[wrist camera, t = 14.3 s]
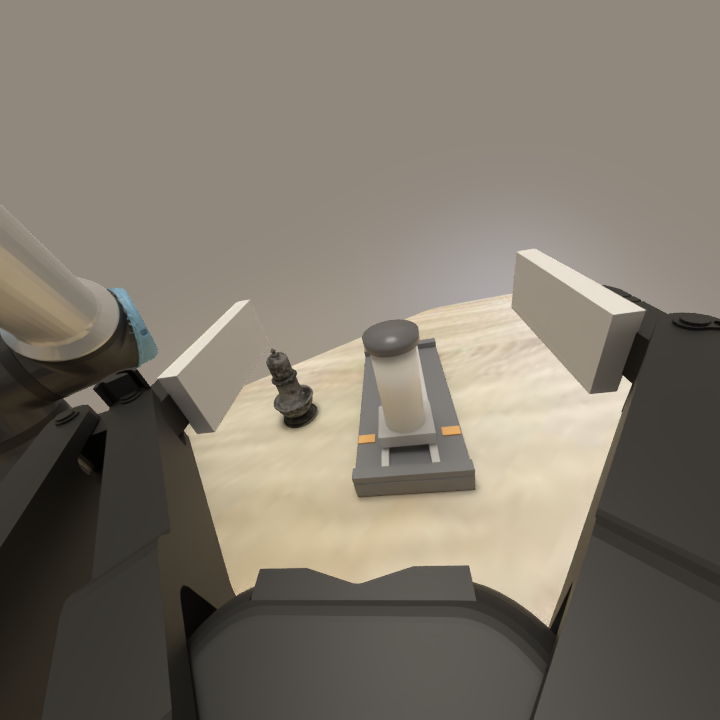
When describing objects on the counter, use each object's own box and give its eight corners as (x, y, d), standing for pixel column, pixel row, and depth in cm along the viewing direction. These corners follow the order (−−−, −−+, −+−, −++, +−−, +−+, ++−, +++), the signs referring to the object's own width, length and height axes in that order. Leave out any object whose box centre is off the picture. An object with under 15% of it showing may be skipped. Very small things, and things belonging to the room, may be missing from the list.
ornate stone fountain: (274, 422, 44) (241, 356, 38) (301, 398, 48) (275, 335, 42) (300, 434, 41) (268, 365, 35) (327, 407, 45) (302, 340, 38)
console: (358, 496, 31) (351, 479, 30) (368, 362, 53) (364, 348, 51) (475, 489, 29) (475, 470, 28) (435, 352, 51) (434, 337, 49)
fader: (380, 448, 32) (355, 352, 25) (381, 415, 36) (359, 325, 30) (436, 443, 31) (426, 341, 24) (430, 409, 35) (419, 315, 28)
